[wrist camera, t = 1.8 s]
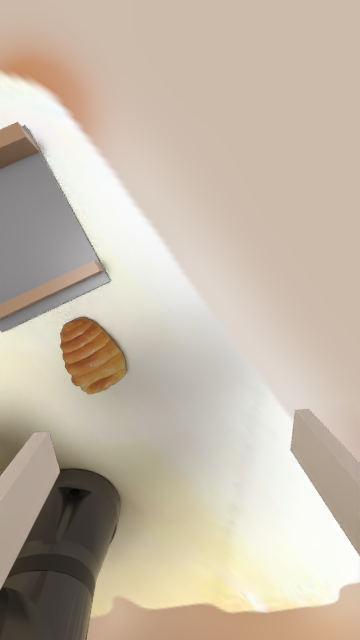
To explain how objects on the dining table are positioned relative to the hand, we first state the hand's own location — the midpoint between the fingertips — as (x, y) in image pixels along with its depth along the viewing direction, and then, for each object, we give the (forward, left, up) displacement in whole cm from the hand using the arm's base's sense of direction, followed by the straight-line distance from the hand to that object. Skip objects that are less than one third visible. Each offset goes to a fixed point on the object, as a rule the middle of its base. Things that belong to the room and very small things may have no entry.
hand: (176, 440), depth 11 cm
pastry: (-9, +2, -18) cm, 20 cm away
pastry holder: (-9, +18, -18) cm, 27 cm away
